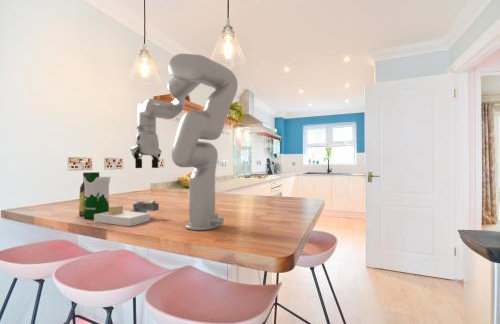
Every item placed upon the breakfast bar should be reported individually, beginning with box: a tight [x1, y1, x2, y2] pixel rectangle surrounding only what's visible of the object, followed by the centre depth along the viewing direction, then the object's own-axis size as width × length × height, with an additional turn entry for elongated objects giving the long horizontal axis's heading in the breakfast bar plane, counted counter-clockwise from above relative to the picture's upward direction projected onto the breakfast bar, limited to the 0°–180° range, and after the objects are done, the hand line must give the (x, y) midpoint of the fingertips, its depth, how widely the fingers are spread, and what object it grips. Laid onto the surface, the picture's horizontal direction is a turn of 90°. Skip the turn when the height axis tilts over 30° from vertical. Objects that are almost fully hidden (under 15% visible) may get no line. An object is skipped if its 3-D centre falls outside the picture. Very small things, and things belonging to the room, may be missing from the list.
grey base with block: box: [93, 204, 151, 227], centre depth 101 cm, size 20×10×6 cm, turn 67°
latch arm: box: [132, 200, 159, 212], centre depth 107 cm, size 12×4×4 cm, turn 67°
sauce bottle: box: [78, 171, 91, 216], centre depth 115 cm, size 7×6×20 cm
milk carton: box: [82, 172, 111, 219], centre depth 109 cm, size 9×9×20 cm
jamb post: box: [130, 209, 148, 213], centre depth 108 cm, size 5×4×3 cm
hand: (147, 167), depth 111 cm, fingers open, 9 cm apart
